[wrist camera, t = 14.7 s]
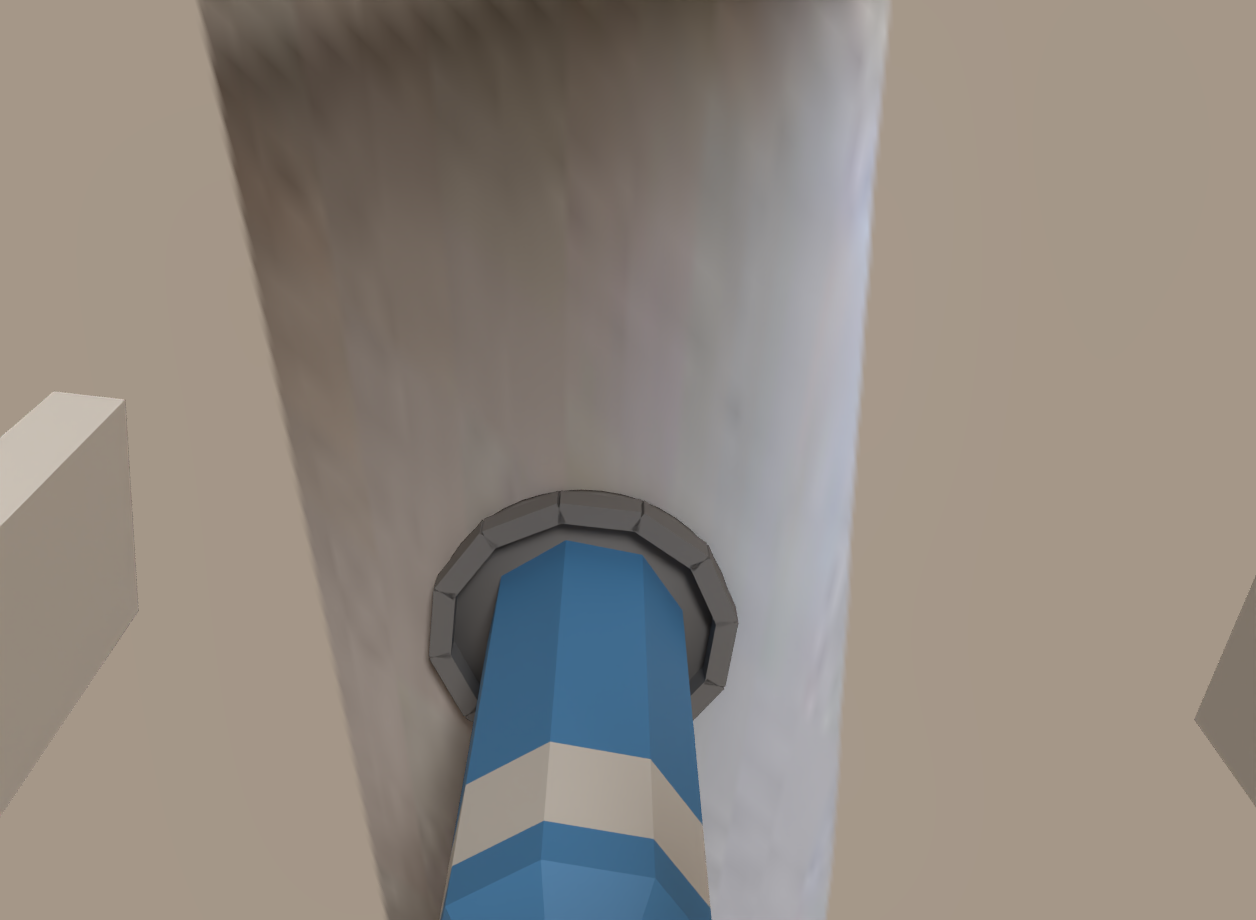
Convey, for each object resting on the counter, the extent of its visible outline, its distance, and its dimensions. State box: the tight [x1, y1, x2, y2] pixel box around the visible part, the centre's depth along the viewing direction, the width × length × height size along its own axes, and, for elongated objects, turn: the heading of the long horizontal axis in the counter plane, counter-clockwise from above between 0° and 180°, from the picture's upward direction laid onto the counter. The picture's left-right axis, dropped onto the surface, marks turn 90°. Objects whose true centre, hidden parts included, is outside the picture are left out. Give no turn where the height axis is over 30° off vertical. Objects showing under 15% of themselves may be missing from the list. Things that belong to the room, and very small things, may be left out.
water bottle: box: [439, 540, 711, 920], centre depth 43 cm, size 9×9×25 cm
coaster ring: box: [429, 490, 738, 723], centre depth 54 cm, size 14×14×2 cm
